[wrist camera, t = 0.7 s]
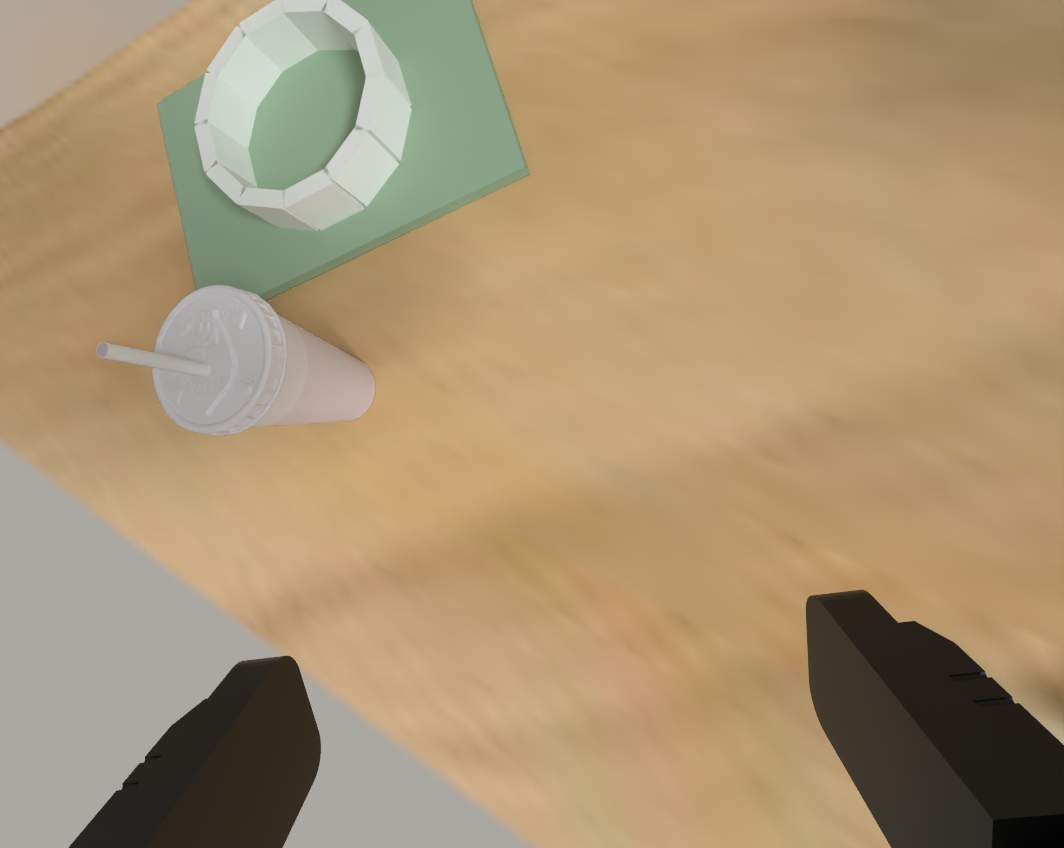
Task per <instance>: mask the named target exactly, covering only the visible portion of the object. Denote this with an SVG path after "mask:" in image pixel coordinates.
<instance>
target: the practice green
mask: <svg viewBox="0 0 1064 848" xmlns="http://www.w3.org/2000/svg"><path fill="white" fill-rule="evenodd" d="M239 24H240V28H241V29H240V28H239V27H238V26H236V27H235V29H234V30H233V32H232V33H231V35H230V36H229V38H228V39H227V41H226V42H225V44H224V45H223V46H222V48H221V49H220V51H219V52H218V54H217V55H216V57H215V58H214V60H213V61H212V63H211V64H210V66H209V67H208V69H207V70H208V72H206V73H205V74H203V75H202V76H200V77H198V78H197V79H195V80H194V81H192V82H190V83H189V84H187V85H186V86H184V87H182V88H181V89H179V90H177V91H176V92H174V93H173V94H171V95H169V96H168V97H166V98H165V99H163V100H161V101H160V102H158V103H157V108H158V112H159V117H160V122H161V126H162V131H163V136H164V140H165V145H166V150H167V154H168V159H169V164H170V168H171V173H172V178H173V182H174V187H175V192H176V196H177V201H178V206H179V210H180V215H181V220H182V225H183V229H184V234H185V239H186V243H187V248H188V253H189V257H190V262H191V267H192V271H193V276H194V281H195V285H196V290H198V289H200V288H203V287H206V286H211V285H226V286H231V287H234V288H237V289H242V290H245V291H248V292H251V293H254V294H257V295H258V296H259V297H261V298H262V299H263V300H264V301H265V300H267V299H270V298H272V297H274V296H276V295H278V294H280V293H282V292H284V291H286V290H288V289H290V288H293V287H295V286H297V285H299V284H301V283H303V282H305V281H307V280H309V279H311V278H313V277H315V276H318V275H320V274H322V273H324V272H326V271H328V270H330V269H332V268H334V267H336V266H338V265H341V264H343V263H345V262H347V261H349V260H351V259H353V258H355V257H357V256H359V255H361V254H364V253H366V252H368V251H370V250H372V249H374V248H376V247H378V246H380V245H382V244H384V243H387V242H389V241H391V240H393V239H395V238H397V237H399V236H401V235H403V234H405V233H407V232H410V231H412V230H414V229H416V228H418V227H420V226H422V225H424V224H426V223H428V222H430V221H433V220H435V219H437V218H439V217H441V216H443V215H445V214H447V213H449V212H451V211H453V210H456V209H458V208H460V207H462V206H464V205H466V204H468V203H470V202H472V201H474V200H476V199H479V198H481V197H483V196H485V195H487V194H489V193H491V192H493V191H495V190H497V189H499V188H502V187H504V186H506V185H508V184H510V183H512V182H514V181H516V180H518V179H520V178H522V177H525V176H527V175H529V171H528V168H527V165H526V162H525V159H524V156H523V153H522V150H521V147H520V144H519V141H518V138H517V135H516V132H515V129H514V126H513V123H512V120H511V117H510V114H509V111H508V108H507V105H506V102H505V99H504V96H503V93H502V90H501V87H500V84H499V81H498V78H497V75H496V72H495V69H494V66H493V63H492V60H491V57H490V54H489V51H488V48H487V45H486V42H485V39H484V36H483V33H482V30H481V27H480V24H479V21H478V18H477V15H476V12H475V9H474V6H473V3H472V0H275V1H273V2H271V3H270V4H268V5H267V6H265V7H264V8H262V9H260V10H259V11H257V12H256V13H254V14H253V15H251V16H250V17H248V18H246V19H245V20H243V21H242V22H240V23H239Z"/></svg>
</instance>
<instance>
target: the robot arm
mask: <svg viewBox="0 0 1064 848" xmlns="http://www.w3.org/2000/svg"><path fill="white" fill-rule="evenodd" d="M806 623H807V645H808V666H809V685H810V692H811V697H812V701H813V704H814V708H815V711H816V714H817V717H818V719H819V722H820V724H821V726H822V728H823V730H824V732H825V734H826V736H827V737H828V739H829V741H830V742H831V744H832V746H833V748H834V749H835V751H836V753H837V755H838V756H839V758H840V760H841V761H842V763H843V765H844V767H845V768H846V770H847V772H848V774H849V775H850V777H851V779H852V780H853V782H854V784H855V786H856V787H857V789H858V791H859V793H860V794H861V796H862V798H863V799H864V801H865V803H866V805H867V806H868V808H869V810H870V812H871V813H872V815H873V817H874V818H875V820H876V822H877V824H878V825H879V827H880V829H881V831H882V832H883V834H884V836H885V837H886V839H887V841H888V843H889V844H890V846H891V848H1064V745H1063V744H1062V743H1061V742H1060V741H1059V740H1058V739H1057V738H1055V737H1054V736H1053V735H1052V734H1051V733H1050V732H1049V731H1048V730H1047V729H1046V728H1045V727H1044V726H1043V725H1042V724H1041V723H1040V722H1038V721H1037V720H1036V719H1035V718H1034V717H1033V716H1032V715H1031V714H1030V713H1029V712H1028V711H1027V710H1026V709H1025V708H1024V707H1022V706H1021V705H1020V704H1019V703H1017V704H1015V703H1014V702H1013V700H1012V696H1011V695H1010V694H1009V693H1008V692H1006V691H1005V690H1004V689H1003V688H1002V687H1001V686H1000V685H999V684H998V683H997V682H996V681H995V680H994V679H993V678H992V677H991V678H988V677H987V676H986V674H985V671H984V670H983V669H982V668H981V667H980V666H979V665H978V664H977V663H976V662H975V661H973V660H972V659H971V658H970V657H969V656H968V655H967V654H966V653H965V652H964V651H963V650H962V649H961V648H960V647H959V646H957V645H956V644H955V643H954V642H952V641H950V640H948V639H947V638H945V637H943V636H941V635H939V634H937V633H935V632H934V631H932V630H930V629H928V628H926V627H924V626H922V625H921V624H919V623H917V622H915V621H910V622H901V623H898V622H897V621H896V620H895V619H894V618H893V617H892V616H891V615H890V614H889V613H888V612H887V611H886V610H885V609H884V608H883V607H882V606H881V605H880V604H879V603H878V602H877V601H876V600H875V598H874V597H873V596H872V595H871V594H869V593H868V592H867V591H865V590H856V591H847V592H839V593H830V594H822V595H813V596H809V597H808V599H807V603H806ZM320 754H321V742H320V735H319V731H318V727H317V724H316V721H315V718H314V715H313V712H312V708H311V705H310V702H309V699H308V695H307V692H306V689H305V686H304V683H303V680H302V676H301V673H300V670H299V667H298V665H297V663H296V661H295V660H294V659H293V658H292V657H290V656H281V657H273V658H264V659H256V660H247V661H242V662H239V663H238V664H236V665H235V666H234V667H233V668H232V669H231V671H230V672H229V673H228V674H227V676H226V677H225V678H224V679H223V681H222V682H221V683H220V684H219V686H218V687H217V688H216V689H215V691H214V692H213V693H212V694H211V695H210V697H209V698H208V699H205V700H203V701H202V702H201V703H200V704H199V705H197V706H196V707H195V708H193V709H192V710H191V711H189V712H188V713H187V714H186V715H185V716H183V717H182V718H181V719H179V720H178V721H177V722H176V723H174V724H173V725H172V726H171V727H170V728H169V729H168V731H167V732H166V733H165V734H164V735H163V736H162V737H161V739H160V740H159V741H158V742H157V743H156V745H155V746H154V747H153V748H152V749H151V751H150V752H149V753H148V754H147V755H146V756H145V762H144V763H140V764H139V765H138V766H137V767H136V768H135V769H134V771H133V772H132V773H131V774H130V775H129V777H128V778H127V779H126V780H125V781H124V783H123V788H122V790H119V791H116V792H115V793H114V794H113V796H112V797H111V798H110V799H109V800H108V801H107V803H106V804H105V805H104V806H103V808H102V809H101V810H100V811H99V812H98V813H97V815H96V816H95V817H94V818H93V819H92V820H91V822H90V823H89V824H88V825H87V826H86V828H85V829H84V830H83V831H82V832H81V833H80V835H79V836H78V837H77V838H76V840H75V841H74V842H73V843H72V844H71V845H70V847H69V848H282V847H283V845H284V843H285V841H286V839H287V837H288V835H289V832H290V831H291V828H292V826H293V824H294V822H295V820H296V818H297V816H298V814H299V811H300V809H301V807H302V805H303V803H304V801H305V799H306V797H307V795H308V792H309V790H310V788H311V786H312V784H313V782H314V780H315V777H316V774H317V771H318V767H319V762H320Z"/></svg>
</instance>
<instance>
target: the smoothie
mask: <svg viewBox="0 0 1064 848" xmlns="http://www.w3.org/2000/svg"><path fill="white" fill-rule="evenodd" d="M97 355H98V357H100V358H105V359H110V360H115V361H121V362H126V363H131V364H137V365H142V366H147V367H152V376H153V382H154V387H155V392H156V394H157V397H158V399H159V402H160V404H161V406H162V407H163V409H164V411H165V412H166V413H167V415H168V416H169V417H170V418H171V419H172V420H173V421H174V422H175V423H177V424H178V425H179V426H181V427H183V428H185V429H187V430H190V431H193V432H197V433H207V434H210V435H221V436H226V435H230V434H235V433H239V432H241V431H243V430H245V429H247V428H248V427H263V426H279V425H296V424H313V423H329V422H346V421H352V420H355V419H357V418H359V417H361V416H362V415H363V414H364V413H365V412H366V411H367V410H368V409H369V407H370V405H371V403H372V401H373V398H374V394H375V381H374V377H373V374H372V372H371V370H370V369H369V368H368V366H367V365H366V364H364V363H363V362H362V361H360V360H358V359H356V358H354V357H353V356H351V355H349V354H347V353H345V352H344V351H342V350H340V349H338V348H336V347H335V346H333V345H331V344H329V343H327V342H326V341H324V340H322V339H320V338H318V337H317V336H315V335H313V334H311V333H310V332H308V331H306V330H304V329H302V328H301V327H299V326H297V325H295V324H293V323H292V322H290V321H288V320H287V319H285V318H283V317H281V316H279V315H278V314H276V313H275V311H274V310H273V309H272V307H271V306H270V304H268V303H267V302H266V301H264V300H263V299H262V298H261V297H259V296H258V295H257V294H254V293H251V292H248V291H245V290H242V289H237V288H234V287H231V286H226V285H211V286H206V287H203V288H200V289H198V290H196V291H194V292H192V293H190V294H189V295H187V296H186V297H185V298H183V299H182V300H181V301H180V302H179V303H178V304H177V305H176V306H175V307H174V308H173V309H172V311H171V312H170V313H169V315H168V316H167V318H166V319H165V321H164V323H163V324H162V326H161V329H160V331H159V334H158V336H157V339H156V343H155V347H154V351H153V352H148V351H144V350H139V349H134V348H130V347H125V346H120V345H116V344H111V343H106V342H101V343H100V344H99V345H98V347H97Z"/></svg>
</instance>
